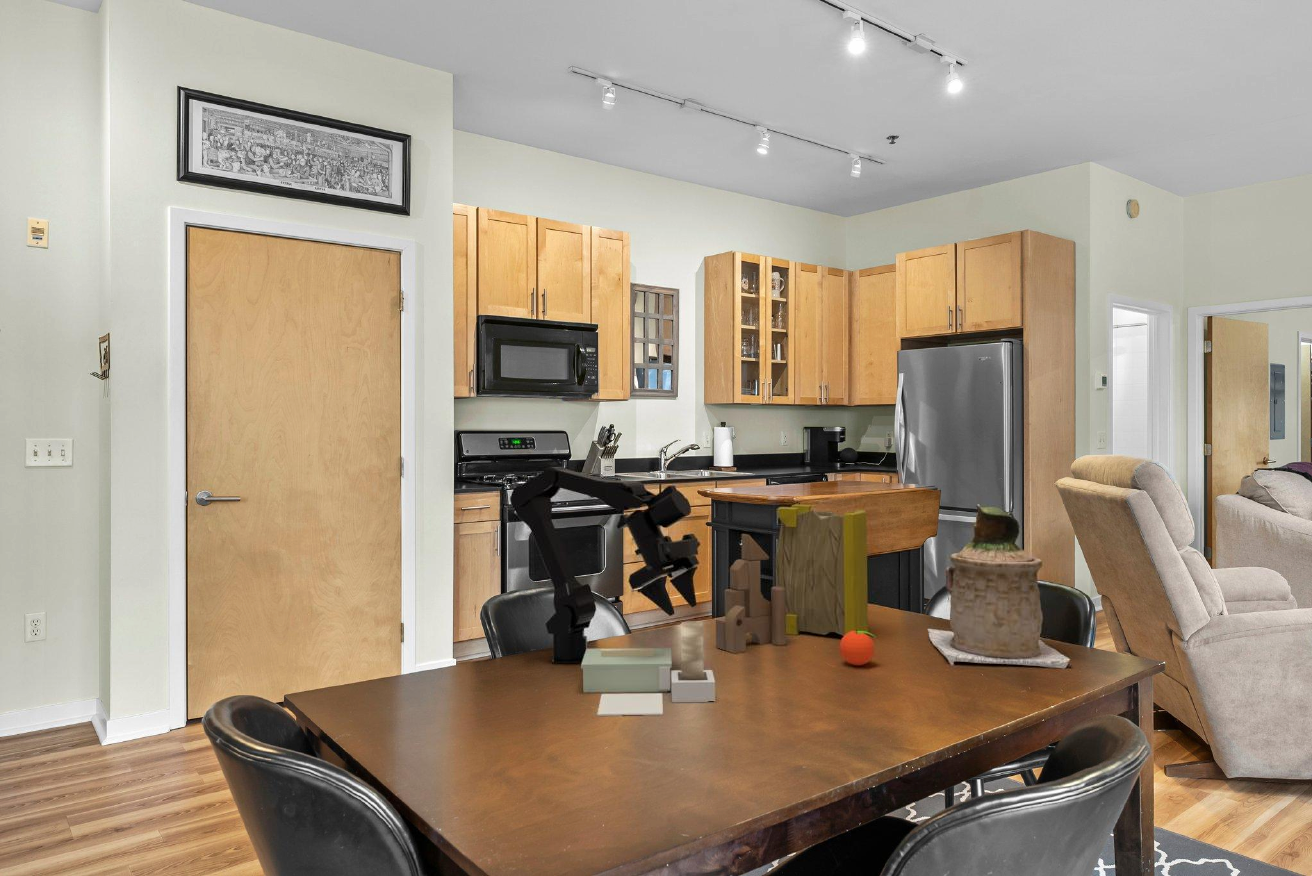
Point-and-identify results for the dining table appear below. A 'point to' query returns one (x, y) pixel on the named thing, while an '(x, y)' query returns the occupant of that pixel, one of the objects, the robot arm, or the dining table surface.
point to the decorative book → (823, 570)
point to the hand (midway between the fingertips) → (683, 610)
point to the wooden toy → (750, 605)
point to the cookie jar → (995, 599)
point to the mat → (630, 704)
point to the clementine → (857, 647)
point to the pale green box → (642, 674)
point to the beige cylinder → (692, 650)
